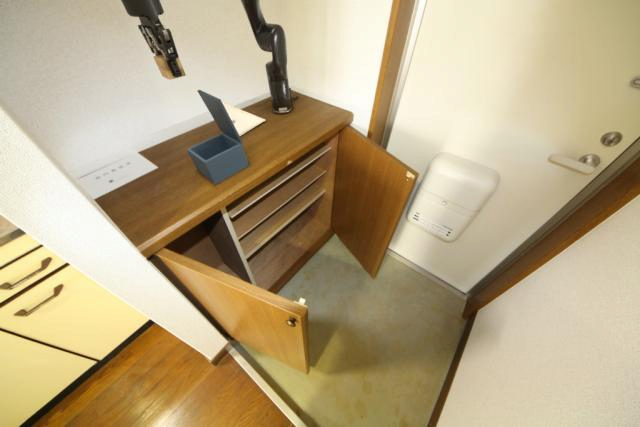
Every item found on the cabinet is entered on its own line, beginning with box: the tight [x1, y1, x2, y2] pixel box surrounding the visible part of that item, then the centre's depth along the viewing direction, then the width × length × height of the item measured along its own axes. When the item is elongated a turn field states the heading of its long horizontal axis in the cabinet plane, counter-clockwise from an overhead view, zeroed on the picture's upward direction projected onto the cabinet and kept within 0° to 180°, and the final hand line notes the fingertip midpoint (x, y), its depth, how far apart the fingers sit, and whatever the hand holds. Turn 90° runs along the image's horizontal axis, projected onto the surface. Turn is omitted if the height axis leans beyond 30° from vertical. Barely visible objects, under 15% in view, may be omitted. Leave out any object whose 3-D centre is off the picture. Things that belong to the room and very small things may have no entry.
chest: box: [185, 132, 250, 186], centre depth 77 cm, size 14×12×9 cm
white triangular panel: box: [222, 101, 267, 137], centre depth 97 cm, size 15×6×20 cm
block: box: [152, 55, 187, 81], centre depth 59 cm, size 5×5×5 cm
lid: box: [197, 89, 243, 144], centre depth 70 cm, size 15×12×1 cm
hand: (173, 74), depth 61 cm, fingers closed on block, 4 cm apart
